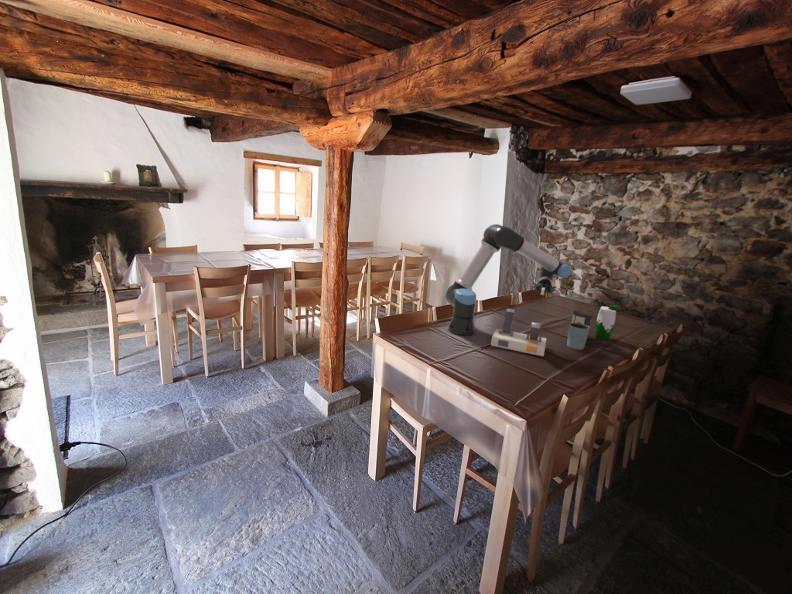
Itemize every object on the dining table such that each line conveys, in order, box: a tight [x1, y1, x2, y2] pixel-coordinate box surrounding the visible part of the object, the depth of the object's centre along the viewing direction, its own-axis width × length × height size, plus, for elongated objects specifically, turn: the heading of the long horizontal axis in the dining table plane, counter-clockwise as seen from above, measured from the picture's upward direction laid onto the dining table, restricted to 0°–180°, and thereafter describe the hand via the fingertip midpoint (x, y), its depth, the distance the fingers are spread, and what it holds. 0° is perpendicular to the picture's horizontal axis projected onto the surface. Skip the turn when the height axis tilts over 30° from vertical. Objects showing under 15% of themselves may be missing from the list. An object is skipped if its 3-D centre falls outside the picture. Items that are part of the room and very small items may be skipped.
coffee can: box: [570, 310, 593, 339], centre depth 223 cm, size 10×10×14 cm
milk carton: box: [594, 304, 618, 342], centre depth 222 cm, size 9×9×20 cm
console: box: [490, 328, 547, 357], centre depth 201 cm, size 26×14×7 cm, turn 67°
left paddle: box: [502, 308, 515, 333], centre depth 204 cm, size 4×2×13 cm, turn 67°
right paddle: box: [529, 322, 541, 341], centre depth 192 cm, size 4×2×13 cm
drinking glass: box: [566, 322, 591, 351], centre depth 206 cm, size 10×10×12 cm
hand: (542, 292), depth 205 cm, fingers closed
